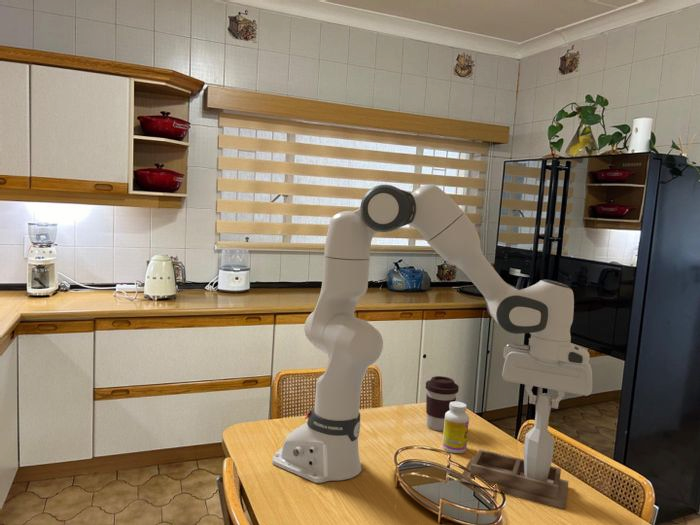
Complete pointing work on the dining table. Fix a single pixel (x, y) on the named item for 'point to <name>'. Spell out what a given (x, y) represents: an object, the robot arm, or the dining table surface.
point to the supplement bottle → (456, 428)
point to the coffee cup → (439, 400)
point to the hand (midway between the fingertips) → (543, 405)
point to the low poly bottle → (539, 442)
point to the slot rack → (518, 478)
